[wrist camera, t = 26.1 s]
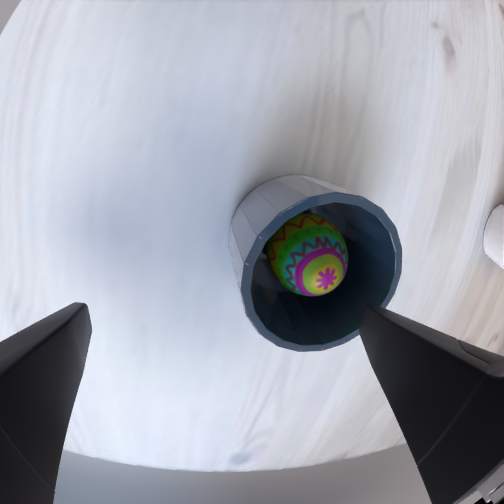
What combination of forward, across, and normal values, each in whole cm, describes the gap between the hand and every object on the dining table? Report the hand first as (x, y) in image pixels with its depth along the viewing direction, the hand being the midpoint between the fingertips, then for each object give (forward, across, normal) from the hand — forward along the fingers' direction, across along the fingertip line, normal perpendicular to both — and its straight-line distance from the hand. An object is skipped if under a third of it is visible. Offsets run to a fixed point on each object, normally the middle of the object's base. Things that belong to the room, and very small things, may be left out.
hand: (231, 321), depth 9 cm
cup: (+12, -6, +1) cm, 13 cm away
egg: (+12, -6, +1) cm, 13 cm away
